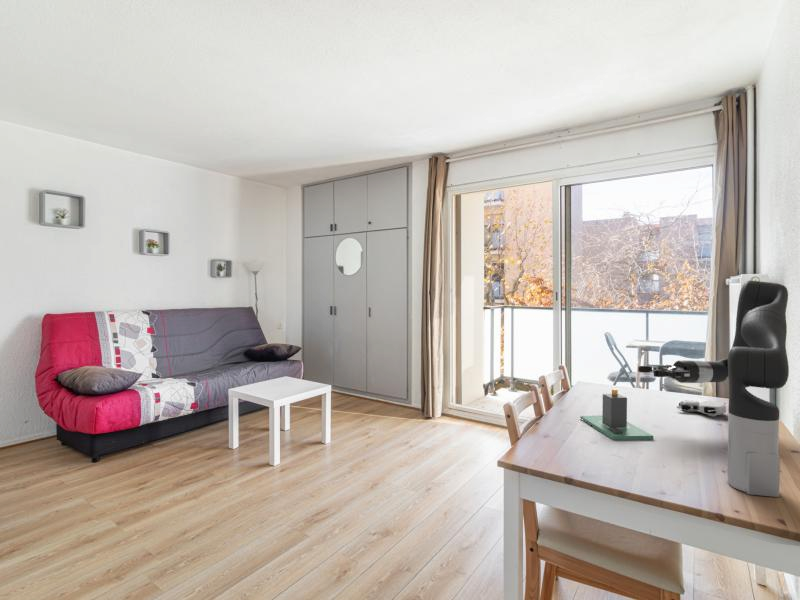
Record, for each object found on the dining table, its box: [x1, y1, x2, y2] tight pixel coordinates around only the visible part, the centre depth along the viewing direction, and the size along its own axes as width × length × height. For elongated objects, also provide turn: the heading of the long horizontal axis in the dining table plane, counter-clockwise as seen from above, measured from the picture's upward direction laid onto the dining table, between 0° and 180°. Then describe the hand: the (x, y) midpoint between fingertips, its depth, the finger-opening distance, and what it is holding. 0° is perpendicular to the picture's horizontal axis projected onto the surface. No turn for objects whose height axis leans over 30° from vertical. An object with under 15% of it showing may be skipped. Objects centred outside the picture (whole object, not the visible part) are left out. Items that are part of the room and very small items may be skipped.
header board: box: [579, 415, 654, 441], centre depth 144 cm, size 22×13×4 cm, turn 2°
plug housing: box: [602, 388, 628, 428], centre depth 144 cm, size 5×5×12 cm
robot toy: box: [676, 399, 727, 418], centre depth 163 cm, size 12×4×15 cm
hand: (646, 371), depth 144 cm, fingers open, 8 cm apart
